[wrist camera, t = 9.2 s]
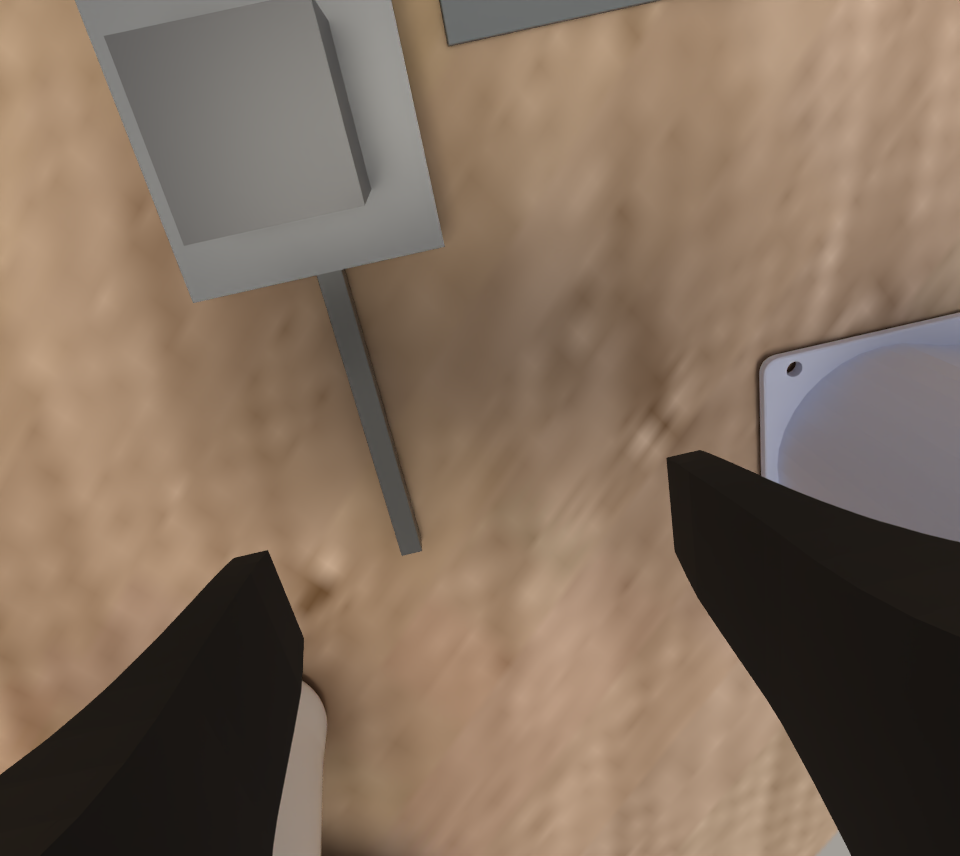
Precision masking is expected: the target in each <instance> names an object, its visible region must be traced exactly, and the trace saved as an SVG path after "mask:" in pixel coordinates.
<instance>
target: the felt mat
mask: <svg viewBox="0 0 960 856" xmlns="http://www.w3.org/2000/svg"><path fill="white" fill-rule="evenodd" d="M439 1H440V7H441V12H442V17H443V22H444V28H445V33H446V38H447V43H448V46H453V45H458V44H462V43H467V42H471V41H476V40H481V39H485V38H490V37H494V36H499V35H504V34H508V33H513V32H517V31H522V30H526V29H531V28H536V27H540V26H545V25H549V24H554V23H559V22H563V21H568V20H572V19H577V18H582V17H586V16H591V15H595V14H600V13H604V12H609V11H614V10H618V9H623V8H627V7H632V6H637V5H641V4H646V3H650V2H655V1H660V0H439Z"/></svg>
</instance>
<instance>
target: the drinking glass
mask: <svg viewBox="0 0 960 856" xmlns="http://www.w3.org/2000/svg"><path fill="white" fill-rule="evenodd" d="M326 737H327V716H326V711H325V708H324V706H323V703H322V701H321V699H320V698H319V696H318V695H317V694H316V692H315V691H314V690H313V689H312V688H311V687H310V686H309V685H308V684H307V683H305V682H304V681H302V689H301V696H300V702H299V708H298V713H297V719H296V724H295V729H294V735H293V740H292V745H291V750H290V755H289V761H288V766H287V771H286V776H285V781H284V787H283V792H282V797H281V802H280V807H279V813H278V818H277V825H276V832H275V838H274V845H273V856H321V843H322V799H323V766H324V755H325V746H326Z"/></svg>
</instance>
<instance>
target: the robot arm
mask: <svg viewBox="0 0 960 856" xmlns="http://www.w3.org/2000/svg"><path fill="white" fill-rule="evenodd" d="M793 362H796V365H795V368H794V369H793V370H792V371H791V372H789V373H787V367H788V366H789V365H790V364H791V363H793ZM759 383H760V439H761V476H760V475H758V474H755V473H753V472H751V471H749V470H746V469H744V468H742V467H740V466H737V465H735V464H733V463H731V462H728V461H726V460H724V459H722V458H719V457H717V456H714V455H712V454H709V453H707V452H704V451H701V450H698V451H694V452H689V453H685V454H681V455H677V456H672V457H668V458H667V469H668V480H669V492H670V503H671V515H672V526H673V537H674V549H675V553H676V555H677V557H678V559H679V561H680V563H681V565H682V568H683V570H684V572H685V574H686V576H687V578H688V580H689V582H690V584H691V586H692V588H693V589H694V591H695V593H696V595H697V597H698V599H699V600H700V602H701V603H702V605H703V606H704V608H705V609H706V611H707V612H708V614H709V615H710V617H711V618H712V620H713V621H714V623H715V624H716V626H717V627H718V629H719V630H720V632H721V633H722V635H723V636H724V638H725V639H726V641H727V642H728V643H729V645H730V646H731V648H732V649H733V651H734V652H735V654H736V655H737V657H738V658H739V660H740V661H741V662H742V664H743V665H744V667H745V668H746V670H747V671H748V673H749V674H750V676H751V677H752V679H753V680H754V681H755V683H756V684H757V686H758V687H759V689H760V690H761V692H762V693H763V695H764V696H765V698H766V699H767V701H768V702H769V704H770V705H771V707H772V709H773V710H774V712H775V713H776V715H777V717H778V718H779V720H780V721H781V723H782V725H783V727H784V728H785V730H786V732H787V734H788V736H789V738H790V740H791V741H792V743H793V745H794V747H795V749H796V751H797V752H798V754H799V756H800V758H801V760H802V762H803V763H804V765H805V767H806V769H807V771H808V773H809V774H810V776H811V778H812V780H813V782H814V784H815V786H816V788H817V790H818V792H819V794H820V795H821V797H822V799H823V801H824V803H825V805H826V807H827V809H828V811H829V813H830V815H831V817H832V819H833V820H834V822H835V824H836V826H837V828H838V830H839V832H840V834H841V836H842V838H843V840H844V842H845V844H846V846H847V848H848V850H849V852H850V854H851V856H960V312H959V313H955V314H950V315H946V316H942V317H937V318H933V319H928V320H924V321H920V322H915V323H911V324H907V325H902V326H898V327H894V328H889V329H885V330H881V331H876V332H872V333H867V334H863V335H859V336H854V337H850V338H846V339H841V340H837V341H833V342H828V343H824V344H819V345H815V346H811V347H806V348H802V349H798V350H793V351H789V352H785V353H780V354H776V355H773V356H770V357H768V358H767V359H766V360H765V361H764V362H763V363H762V365H761V367H760V371H759ZM303 650H304V637H303V635H302V632H301V630H300V628H299V625H298V623H297V620H296V618H295V615H294V613H293V610H292V608H291V606H290V603H289V601H288V598H287V596H286V593H285V591H284V588H283V586H282V584H281V581H280V579H279V576H278V574H277V571H276V569H275V566H274V564H273V561H272V559H271V557H270V554H269V552H268V550H267V551H262V552H258V553H254V554H249V555H245V556H241V557H236V558H233V559H232V560H231V561H230V562H229V563H228V564H227V565H226V566H225V567H224V568H223V569H222V570H221V571H220V572H219V573H218V574H217V575H216V576H215V577H214V578H213V579H212V580H211V581H210V582H209V583H208V584H207V586H206V587H205V588H204V589H203V590H202V591H201V592H200V593H199V594H198V595H197V596H196V597H195V598H194V600H193V601H192V602H191V603H190V604H189V605H188V606H187V607H186V608H185V609H184V610H183V611H182V612H181V613H180V615H179V616H178V617H177V618H176V619H175V620H174V621H173V622H172V623H171V624H170V625H169V626H168V627H167V628H166V630H165V631H164V632H163V633H162V634H161V635H160V636H159V637H158V638H157V639H156V640H155V641H154V642H153V643H152V644H151V645H150V646H149V647H148V648H147V649H146V650H145V651H144V652H143V653H142V654H141V655H140V656H139V657H138V658H137V659H136V660H135V661H134V662H133V663H132V664H131V665H130V666H129V667H128V668H127V669H126V670H125V671H124V672H123V673H122V674H121V675H120V676H119V677H118V678H117V679H116V680H115V681H114V682H112V683H111V684H110V685H109V686H108V687H107V688H106V689H105V690H104V691H103V692H102V693H101V694H99V695H98V696H97V697H96V698H95V699H94V700H93V701H92V702H91V703H89V704H88V705H87V706H86V707H85V708H84V709H83V710H81V711H80V712H79V713H78V714H77V715H75V716H74V717H73V718H72V719H71V720H70V721H68V722H67V723H66V724H65V725H64V726H62V727H61V728H60V729H59V730H58V731H57V732H55V733H54V734H53V735H52V736H50V737H49V738H48V739H47V740H45V741H44V742H43V743H42V744H40V745H39V746H38V747H36V748H35V749H34V750H32V751H31V752H30V753H28V754H27V755H26V756H25V757H23V758H22V759H21V760H19V761H18V762H17V763H15V764H14V765H13V766H11V767H10V768H9V769H7V770H6V771H5V772H3V773H2V774H1V775H0V856H273V845H274V838H275V832H276V825H277V818H278V813H279V807H280V802H281V797H282V792H283V787H284V781H285V776H286V771H287V766H288V761H289V755H290V750H291V745H292V740H293V735H294V729H295V724H296V719H297V713H298V708H299V702H300V696H301V689H302V673H303Z"/></svg>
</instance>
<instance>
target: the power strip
mask: <svg viewBox="0 0 960 856" xmlns="http://www.w3.org/2000/svg"><path fill="white" fill-rule="evenodd" d="M75 2H76V4H77V7H78V10H79V12H80V15H81V17H82V20H83V22H84V25H85V28H86V30H87V33H88V35H89V38H90V40H91V43H92V45H93V48H94V51H95V53H96V56H97V58H98V61H99V63H100V66H101V68H102V71H103V74H104V76H105V79H106V81H107V84H108V86H109V89H110V91H111V94H112V97H113V99H114V102H115V104H116V107H117V109H118V112H119V114H120V117H121V120H122V122H123V125H124V127H125V130H126V132H127V135H128V137H129V140H130V143H131V145H132V148H133V150H134V153H135V155H136V158H137V160H138V163H139V166H140V168H141V171H142V173H143V176H144V178H145V181H146V183H147V186H148V189H149V191H150V194H151V196H152V199H153V201H154V204H155V206H156V209H157V212H158V214H159V217H160V219H161V222H162V224H163V227H164V230H165V232H166V235H167V237H168V240H169V242H170V245H171V247H172V250H173V253H174V255H175V258H176V260H177V263H178V265H179V268H180V270H181V273H182V276H183V278H184V281H185V283H186V286H187V288H188V291H189V293H190V296H191V299H192V301H193V303H195V302H200V301H204V300H209V299H213V298H217V297H222V296H226V295H231V294H235V293H240V292H244V291H249V290H253V289H258V288H262V287H267V286H271V285H276V284H280V283H284V282H289V281H293V280H298V279H302V278H307V277H311V276H316V275H317V278H318V282H319V285H320V288H321V291H322V295H323V298H324V301H325V305H326V308H327V311H328V314H329V318H330V321H331V324H332V328H333V331H334V334H335V337H336V341H337V344H338V347H339V351H340V354H341V357H342V360H343V364H344V367H345V370H346V374H347V377H348V380H349V383H350V387H351V390H352V393H353V397H354V400H355V403H356V407H357V410H358V413H359V416H360V420H361V423H362V426H363V430H364V433H365V436H366V439H367V443H368V446H369V449H370V453H371V456H372V459H373V462H374V466H375V469H376V472H377V476H378V479H379V482H380V485H381V489H382V492H383V495H384V499H385V502H386V505H387V508H388V512H389V515H390V518H391V522H392V525H393V528H394V531H395V535H396V538H397V541H398V545H399V548H400V551H401V555H402V556H403V555H407V554H411V553H416V552H420V551H422V543H421V537H420V533H419V530H418V526H417V523H416V519H415V516H414V512H413V509H412V505H411V502H410V498H409V495H408V491H407V488H406V484H405V480H404V477H403V473H402V470H401V466H400V463H399V459H398V456H397V452H396V449H395V445H394V442H393V438H392V435H391V431H390V428H389V424H388V421H387V417H386V414H385V410H384V407H383V403H382V400H381V396H380V393H379V389H378V386H377V382H376V379H375V375H374V372H373V368H372V365H371V361H370V358H369V354H368V351H367V347H366V344H365V340H364V337H363V333H362V330H361V326H360V323H359V319H358V316H357V312H356V309H355V305H354V302H353V298H352V294H351V291H350V287H349V284H348V280H347V277H346V273H345V270H344V269H347V268H352V267H356V266H360V265H365V264H369V263H374V262H378V261H383V260H387V259H392V258H396V257H401V256H405V255H410V254H414V253H419V252H423V251H427V250H432V249H436V248H441V247H445V246H444V241H443V237H442V232H441V227H440V223H439V218H438V214H437V209H436V204H435V200H434V195H433V191H432V186H431V181H430V177H429V172H428V167H427V163H426V158H425V154H424V149H423V144H422V140H421V135H420V131H419V126H418V121H417V117H416V112H415V108H414V103H413V98H412V94H411V89H410V85H409V80H408V75H407V71H406V66H405V61H404V57H403V52H402V48H401V43H400V38H399V34H398V29H397V25H396V20H395V15H394V11H393V6H392V2H391V0H75Z"/></svg>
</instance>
